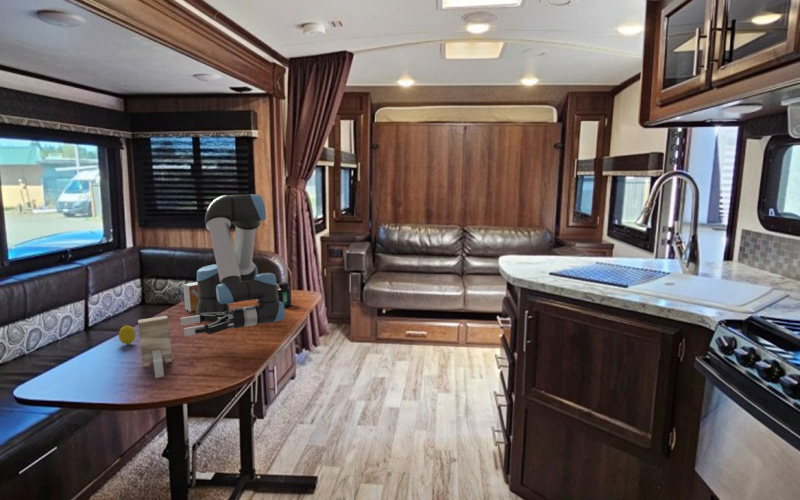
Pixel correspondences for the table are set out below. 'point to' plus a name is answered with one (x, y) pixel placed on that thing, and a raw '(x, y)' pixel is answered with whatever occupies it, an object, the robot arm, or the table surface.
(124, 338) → the lemon
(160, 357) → the notched board
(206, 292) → the robot arm
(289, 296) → the supplement bottle
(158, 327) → the slotted tab
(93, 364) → the table surface
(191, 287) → the small box
